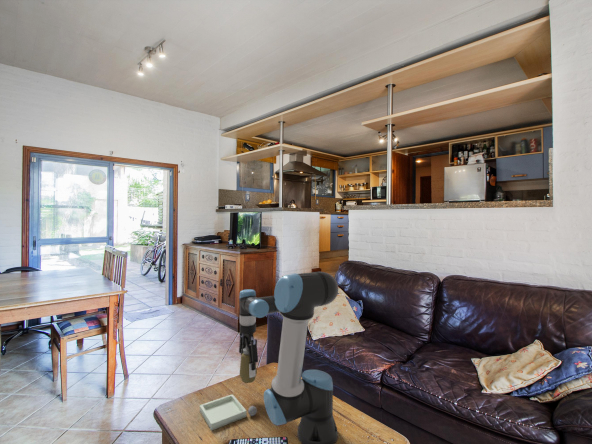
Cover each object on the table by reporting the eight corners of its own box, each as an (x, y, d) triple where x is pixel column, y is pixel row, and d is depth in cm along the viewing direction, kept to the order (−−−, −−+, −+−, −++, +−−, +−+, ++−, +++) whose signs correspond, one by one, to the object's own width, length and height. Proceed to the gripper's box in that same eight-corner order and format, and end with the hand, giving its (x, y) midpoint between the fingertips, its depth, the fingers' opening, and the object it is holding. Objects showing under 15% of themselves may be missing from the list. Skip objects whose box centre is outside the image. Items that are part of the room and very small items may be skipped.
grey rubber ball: (258, 415, 126) (258, 407, 126) (250, 419, 124) (250, 410, 124) (254, 411, 129) (254, 403, 129) (246, 414, 127) (246, 405, 127)
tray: (246, 416, 125) (246, 410, 125) (211, 430, 117) (211, 424, 117) (232, 399, 138) (232, 394, 138) (199, 411, 129) (199, 405, 129)
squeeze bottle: (255, 384, 135) (255, 344, 135) (237, 384, 135) (237, 344, 136) (258, 376, 143) (257, 337, 143) (241, 376, 143) (241, 338, 144)
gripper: (265, 327, 133) (266, 379, 133) (245, 317, 150) (246, 363, 150) (250, 330, 129) (250, 384, 128) (231, 319, 146) (231, 367, 145)
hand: (248, 373), depth 139 cm, fingers closed on squeeze bottle, 8 cm apart
